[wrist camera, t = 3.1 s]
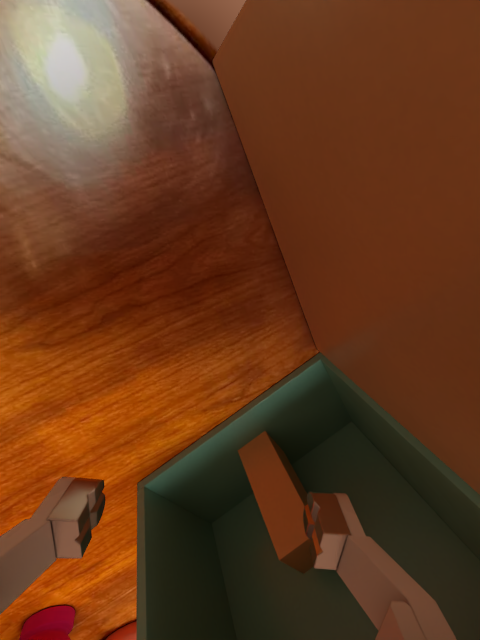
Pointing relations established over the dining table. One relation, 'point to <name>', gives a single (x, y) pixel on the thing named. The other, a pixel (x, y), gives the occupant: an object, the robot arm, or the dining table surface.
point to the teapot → (125, 633)
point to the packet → (278, 499)
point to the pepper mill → (49, 624)
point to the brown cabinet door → (374, 192)
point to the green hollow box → (316, 476)
